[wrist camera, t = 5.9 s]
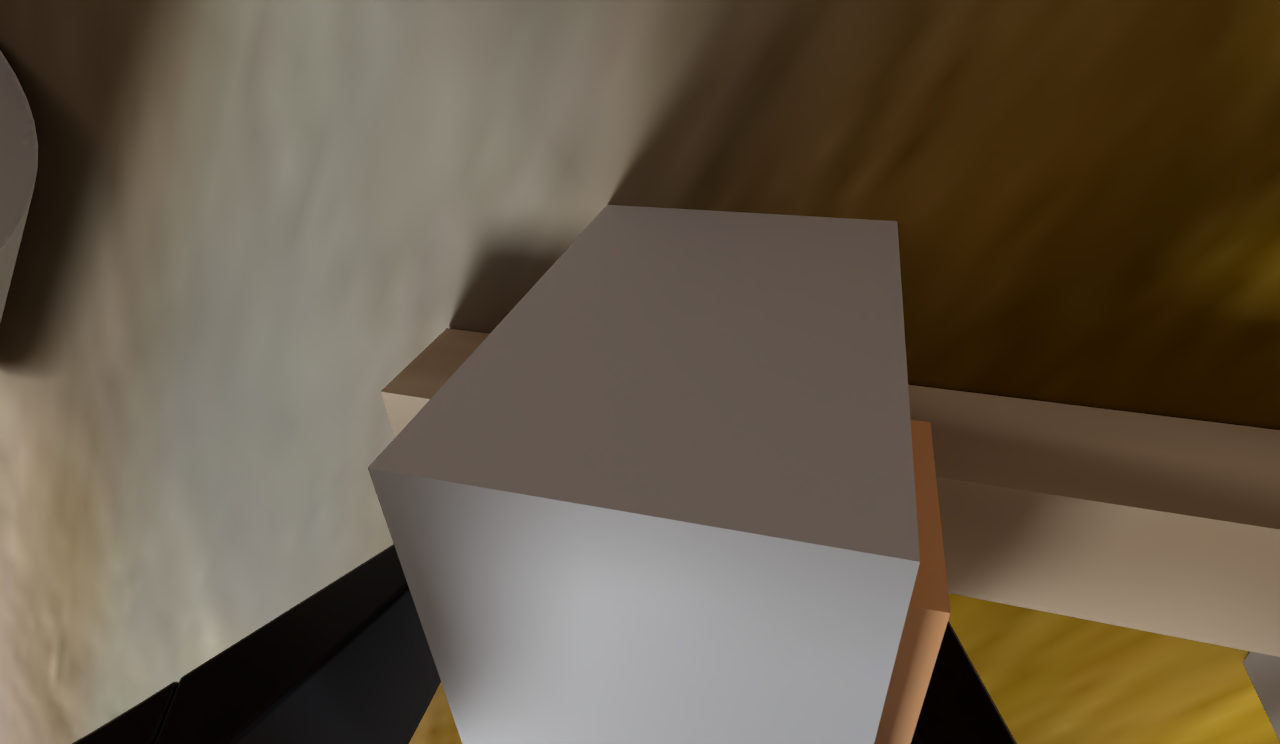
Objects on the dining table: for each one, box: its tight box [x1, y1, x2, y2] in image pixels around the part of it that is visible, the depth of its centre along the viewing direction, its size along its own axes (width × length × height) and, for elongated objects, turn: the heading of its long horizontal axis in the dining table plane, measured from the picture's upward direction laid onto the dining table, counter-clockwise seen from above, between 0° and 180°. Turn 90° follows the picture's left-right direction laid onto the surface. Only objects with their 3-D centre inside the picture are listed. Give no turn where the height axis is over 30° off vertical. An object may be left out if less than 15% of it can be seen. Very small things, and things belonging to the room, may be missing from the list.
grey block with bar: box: [381, 328, 1280, 741], centre depth 8 cm, size 7×18×6 cm, turn 93°
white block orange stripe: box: [368, 205, 950, 744], centre depth 9 cm, size 7×4×6 cm, turn 3°
